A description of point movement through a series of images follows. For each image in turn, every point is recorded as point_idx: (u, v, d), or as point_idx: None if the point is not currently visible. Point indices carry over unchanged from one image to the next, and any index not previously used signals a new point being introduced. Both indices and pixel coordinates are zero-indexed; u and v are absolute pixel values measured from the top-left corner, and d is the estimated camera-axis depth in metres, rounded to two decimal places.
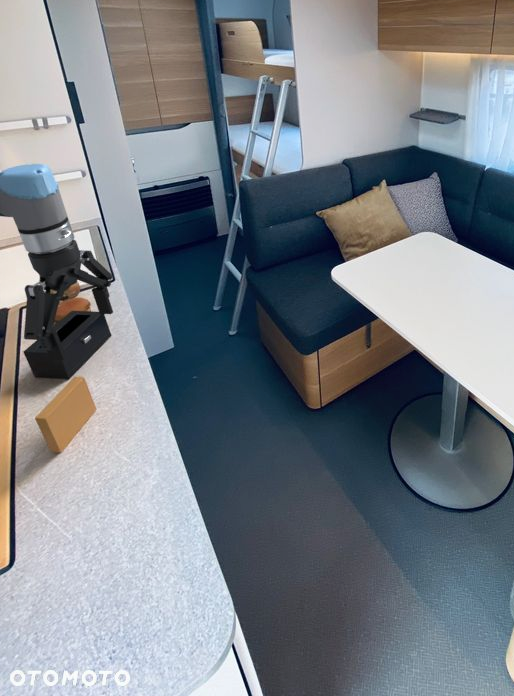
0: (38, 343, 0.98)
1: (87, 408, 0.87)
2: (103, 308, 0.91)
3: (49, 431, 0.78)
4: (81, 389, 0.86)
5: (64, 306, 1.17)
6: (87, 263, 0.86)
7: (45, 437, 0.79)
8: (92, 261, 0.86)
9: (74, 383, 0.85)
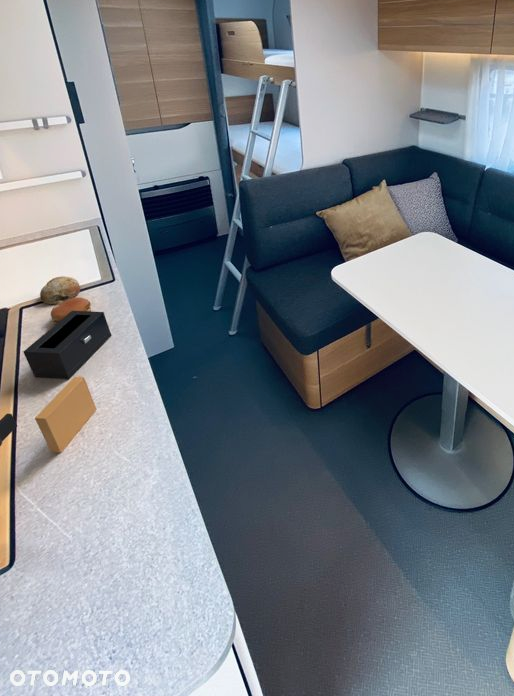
0: (38, 343, 0.98)
1: (87, 408, 0.87)
2: None
3: (49, 431, 0.78)
4: (81, 389, 0.86)
5: (64, 306, 1.17)
6: None
7: (45, 437, 0.79)
8: None
9: (74, 383, 0.85)
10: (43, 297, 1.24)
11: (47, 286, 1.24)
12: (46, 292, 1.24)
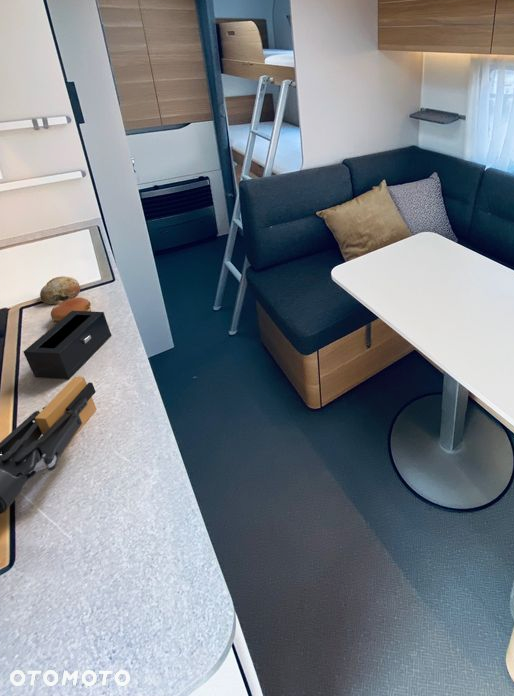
0: (38, 343, 0.98)
1: (87, 408, 0.87)
2: None
3: None
4: (81, 389, 0.86)
5: (64, 306, 1.17)
6: None
7: None
8: None
9: (74, 383, 0.85)
10: (43, 297, 1.24)
11: (47, 286, 1.24)
12: (46, 292, 1.24)
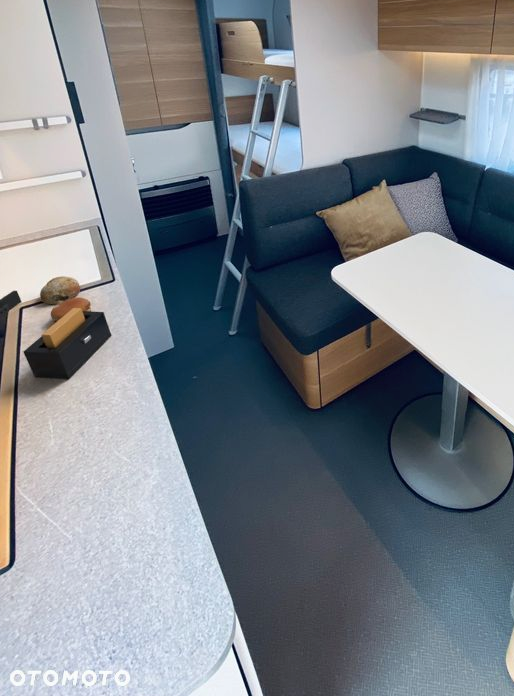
0: (38, 343, 0.98)
1: None
2: None
3: (53, 346, 0.97)
4: (78, 317, 1.05)
5: (64, 306, 1.17)
6: None
7: None
8: None
9: (73, 312, 1.04)
10: (43, 297, 1.24)
11: (47, 286, 1.24)
12: (46, 292, 1.24)
